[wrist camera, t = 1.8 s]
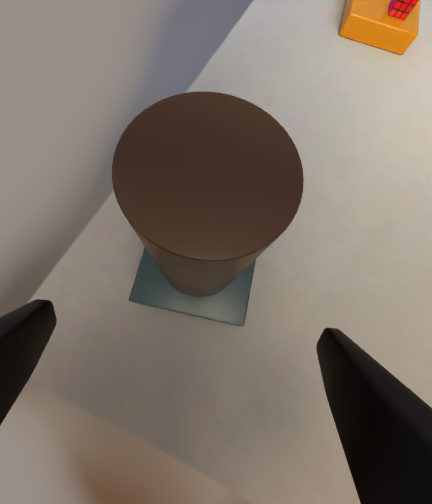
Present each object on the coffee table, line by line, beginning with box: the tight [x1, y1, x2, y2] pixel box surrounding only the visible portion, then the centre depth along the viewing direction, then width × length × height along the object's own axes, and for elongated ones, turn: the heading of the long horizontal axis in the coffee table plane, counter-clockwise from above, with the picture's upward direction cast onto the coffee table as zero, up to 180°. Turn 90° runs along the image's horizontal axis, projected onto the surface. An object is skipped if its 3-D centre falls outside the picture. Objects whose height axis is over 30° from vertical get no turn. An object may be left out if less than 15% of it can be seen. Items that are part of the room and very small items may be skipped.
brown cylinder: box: [112, 92, 303, 297], centre depth 12 cm, size 6×6×11 cm
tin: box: [129, 247, 256, 326], centre depth 19 cm, size 8×8×3 cm
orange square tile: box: [339, 0, 420, 55], centre depth 29 cm, size 8×8×4 cm
